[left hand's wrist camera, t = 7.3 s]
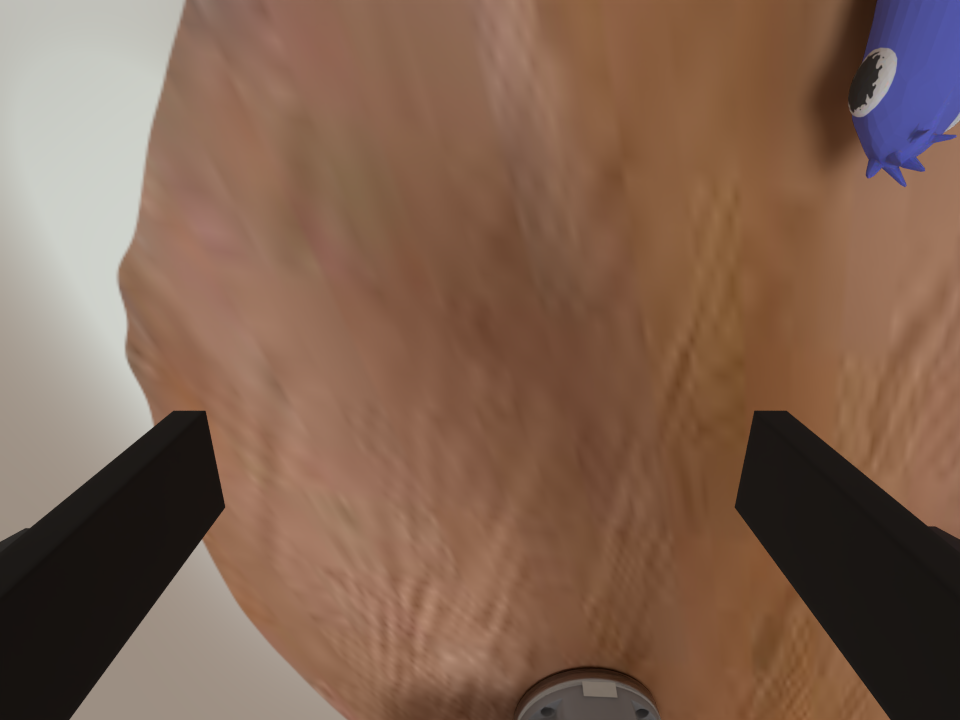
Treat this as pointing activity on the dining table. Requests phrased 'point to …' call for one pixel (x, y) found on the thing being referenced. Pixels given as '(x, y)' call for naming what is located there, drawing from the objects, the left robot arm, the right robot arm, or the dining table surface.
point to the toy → (907, 83)
